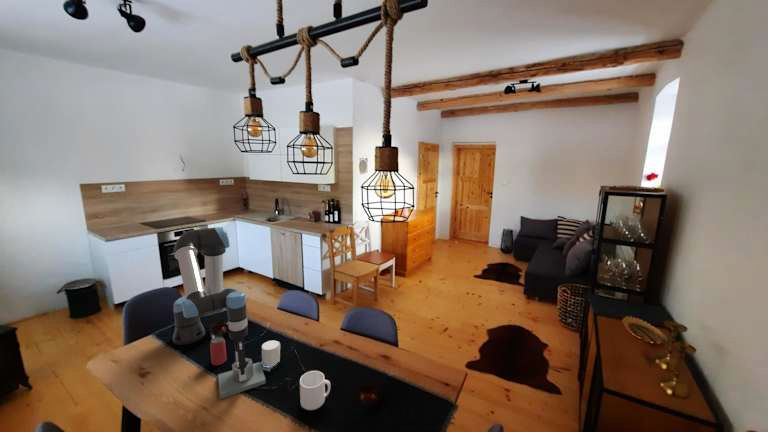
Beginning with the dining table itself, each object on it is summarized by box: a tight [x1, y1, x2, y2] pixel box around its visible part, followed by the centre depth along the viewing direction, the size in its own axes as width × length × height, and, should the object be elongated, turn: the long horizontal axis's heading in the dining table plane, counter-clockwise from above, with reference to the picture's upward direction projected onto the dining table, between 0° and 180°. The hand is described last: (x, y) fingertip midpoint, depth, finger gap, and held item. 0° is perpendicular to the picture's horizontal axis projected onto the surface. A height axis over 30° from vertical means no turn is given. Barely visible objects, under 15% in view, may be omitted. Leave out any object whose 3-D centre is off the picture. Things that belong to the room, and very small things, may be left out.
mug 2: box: [261, 339, 281, 366], centre depth 150 cm, size 12×9×8 cm
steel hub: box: [231, 357, 254, 383], centre depth 136 cm, size 8×8×6 cm
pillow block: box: [217, 361, 267, 400], centre depth 135 cm, size 14×18×9 cm
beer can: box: [209, 336, 227, 366], centre depth 148 cm, size 7×7×12 cm
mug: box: [299, 370, 332, 411], centre depth 125 cm, size 13×10×10 cm
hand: (241, 371), depth 135 cm, fingers open, 12 cm apart
